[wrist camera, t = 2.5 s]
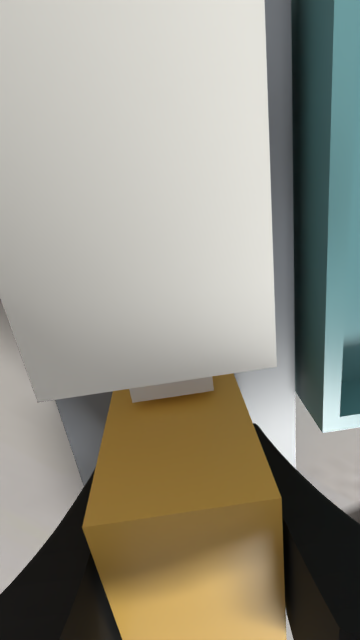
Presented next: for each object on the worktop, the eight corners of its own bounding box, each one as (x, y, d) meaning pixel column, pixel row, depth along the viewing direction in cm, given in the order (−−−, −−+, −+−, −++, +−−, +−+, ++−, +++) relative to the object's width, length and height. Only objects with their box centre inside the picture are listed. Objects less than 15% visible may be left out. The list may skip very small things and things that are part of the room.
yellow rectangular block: (226, 355, 12) (281, 498, 7) (238, 478, 15) (286, 660, 9) (117, 371, 12) (82, 527, 7) (146, 491, 15) (137, 682, 9)
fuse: (197, 54, 9) (259, -159, 3) (218, 275, 11) (276, 366, 6) (46, 76, 9) (-144, -100, 3) (98, 293, 11) (38, 402, 6)
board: (272, -4, 10) (340, -119, 6) (287, 583, 20) (317, 674, 16) (-39, 42, 10) (-162, -44, 6) (136, 606, 20) (130, 702, 16)
